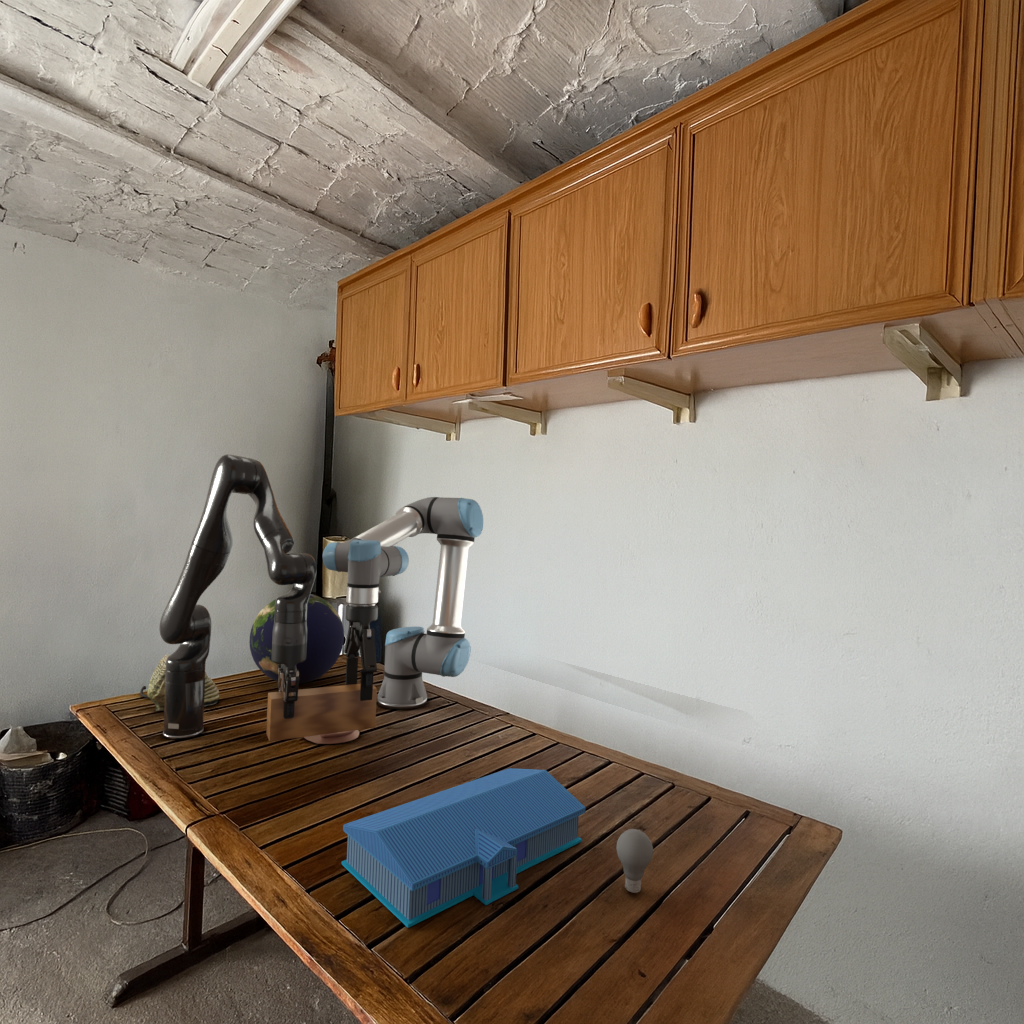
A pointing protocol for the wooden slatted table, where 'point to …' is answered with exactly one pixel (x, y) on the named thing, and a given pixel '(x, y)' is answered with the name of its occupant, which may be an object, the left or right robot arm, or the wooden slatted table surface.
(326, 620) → the globe
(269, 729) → the bar
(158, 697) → the fossil
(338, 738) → the anatomical model
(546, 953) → the wooden slatted table surface
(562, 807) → the model building
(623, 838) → the light bulb
